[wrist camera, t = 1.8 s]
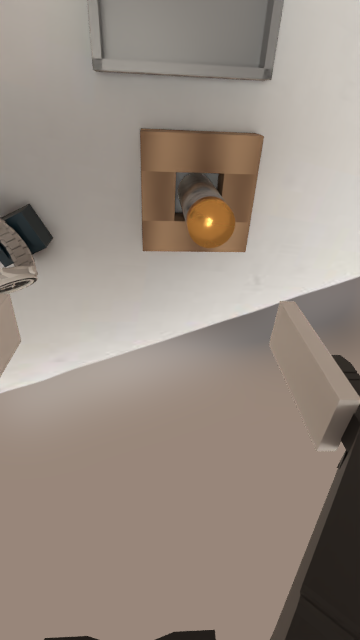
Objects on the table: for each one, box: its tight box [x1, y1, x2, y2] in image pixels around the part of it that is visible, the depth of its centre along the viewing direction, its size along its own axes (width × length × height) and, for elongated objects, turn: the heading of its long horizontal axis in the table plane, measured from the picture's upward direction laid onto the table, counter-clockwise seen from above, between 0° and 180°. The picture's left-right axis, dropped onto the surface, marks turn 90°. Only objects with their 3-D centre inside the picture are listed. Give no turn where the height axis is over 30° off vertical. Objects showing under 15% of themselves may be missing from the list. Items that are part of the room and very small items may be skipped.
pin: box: [178, 173, 235, 248], centre depth 33 cm, size 4×4×12 cm
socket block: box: [140, 129, 264, 252], centre depth 37 cm, size 12×12×3 cm
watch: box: [0, 204, 53, 294], centre depth 34 cm, size 6×8×11 cm
